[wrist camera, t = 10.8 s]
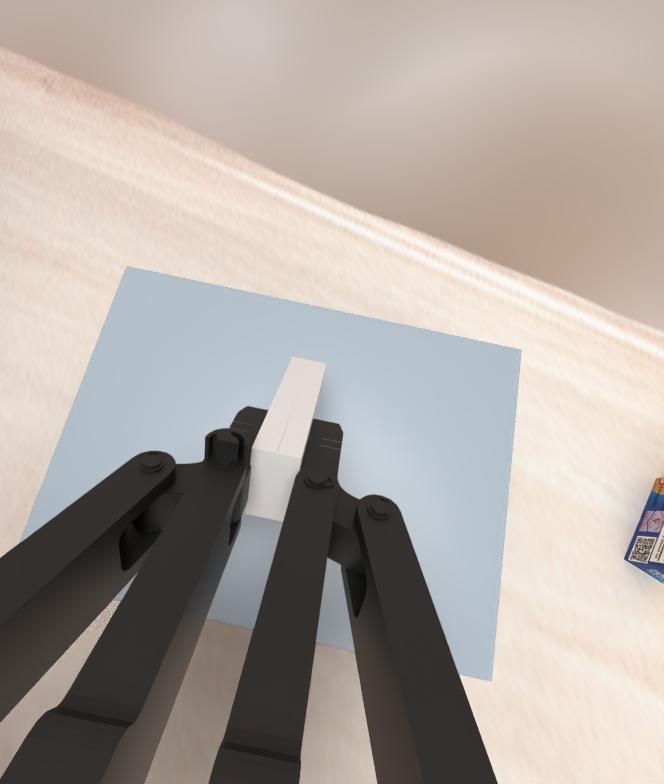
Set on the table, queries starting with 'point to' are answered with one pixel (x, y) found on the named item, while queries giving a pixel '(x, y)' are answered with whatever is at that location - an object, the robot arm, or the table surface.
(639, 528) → the beverage box
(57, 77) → the table surface
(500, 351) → the lid
